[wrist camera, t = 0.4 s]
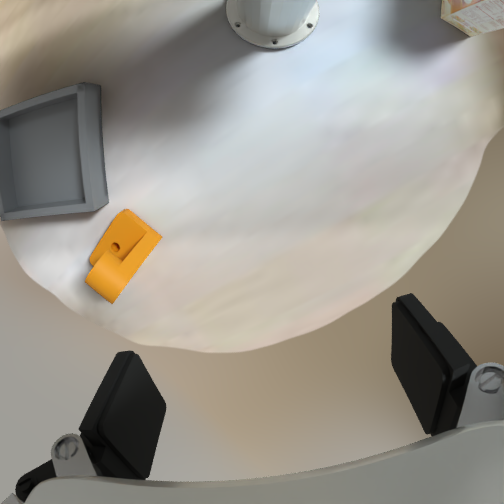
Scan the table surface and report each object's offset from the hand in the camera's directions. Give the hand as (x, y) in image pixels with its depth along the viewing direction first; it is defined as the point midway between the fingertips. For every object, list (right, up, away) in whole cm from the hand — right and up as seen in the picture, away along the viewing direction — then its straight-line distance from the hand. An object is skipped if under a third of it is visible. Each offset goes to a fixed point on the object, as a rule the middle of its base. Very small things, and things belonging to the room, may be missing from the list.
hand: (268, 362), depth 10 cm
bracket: (-20, +5, +36) cm, 41 cm away
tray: (-32, +19, +30) cm, 48 cm away
